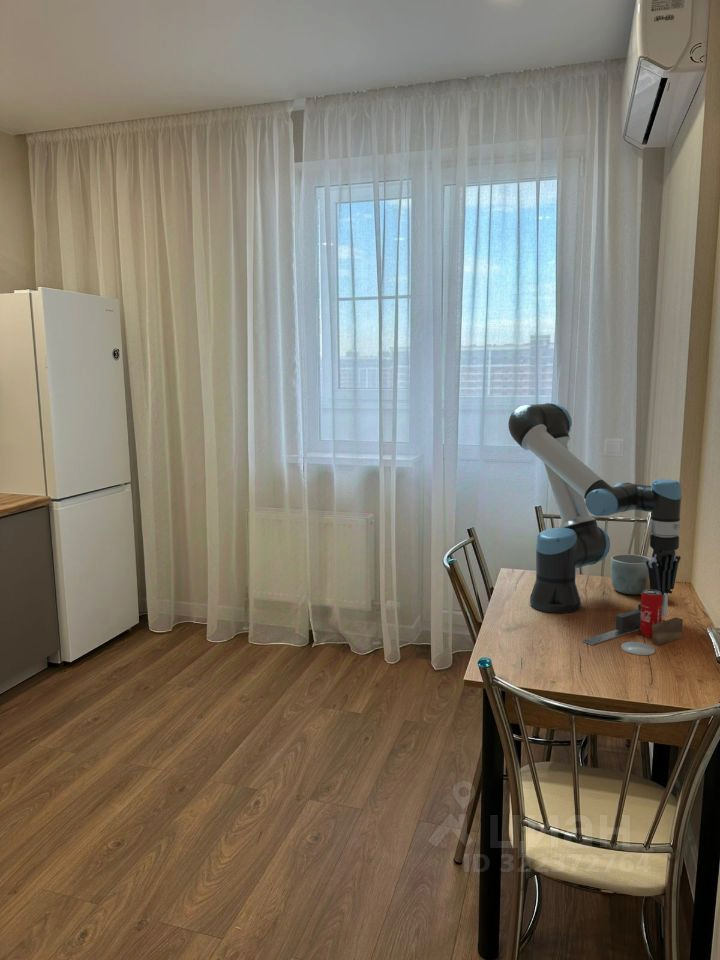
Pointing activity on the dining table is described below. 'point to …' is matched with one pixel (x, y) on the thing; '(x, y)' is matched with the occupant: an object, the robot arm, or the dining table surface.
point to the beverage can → (650, 611)
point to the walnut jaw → (667, 631)
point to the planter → (629, 573)
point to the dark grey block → (628, 620)
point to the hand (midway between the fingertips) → (661, 614)
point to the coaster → (638, 648)
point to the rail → (608, 636)
